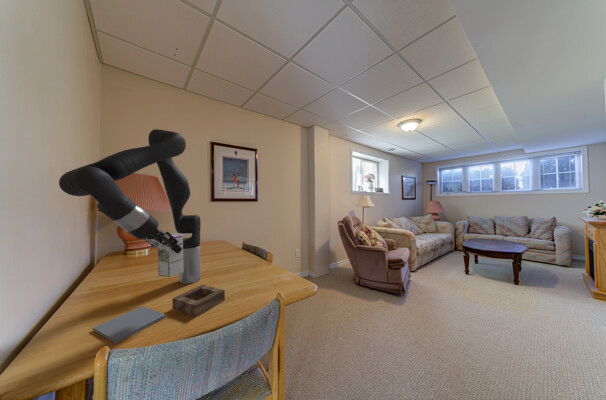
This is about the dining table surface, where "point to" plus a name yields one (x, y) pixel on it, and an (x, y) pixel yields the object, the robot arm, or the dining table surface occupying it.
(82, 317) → the dining table surface
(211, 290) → the socket block
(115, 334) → the mat
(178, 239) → the syrup box
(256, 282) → the dining table surface
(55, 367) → the dining table surface
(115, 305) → the dining table surface
